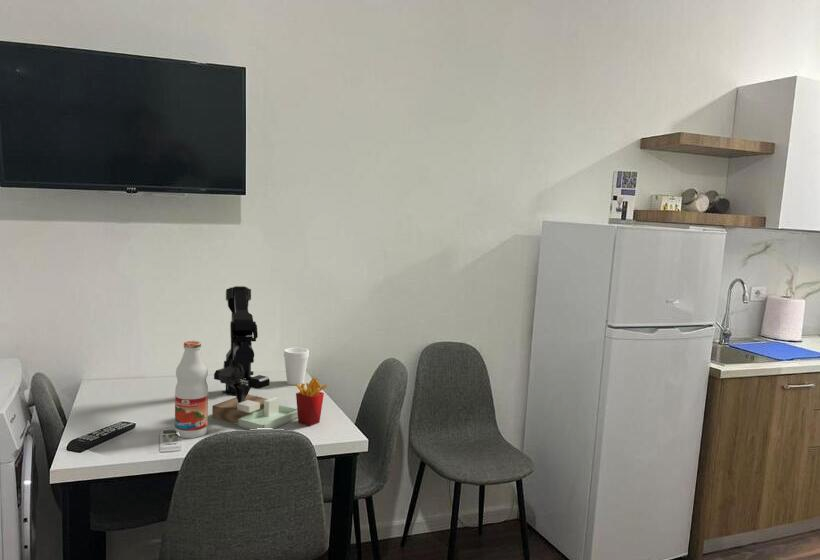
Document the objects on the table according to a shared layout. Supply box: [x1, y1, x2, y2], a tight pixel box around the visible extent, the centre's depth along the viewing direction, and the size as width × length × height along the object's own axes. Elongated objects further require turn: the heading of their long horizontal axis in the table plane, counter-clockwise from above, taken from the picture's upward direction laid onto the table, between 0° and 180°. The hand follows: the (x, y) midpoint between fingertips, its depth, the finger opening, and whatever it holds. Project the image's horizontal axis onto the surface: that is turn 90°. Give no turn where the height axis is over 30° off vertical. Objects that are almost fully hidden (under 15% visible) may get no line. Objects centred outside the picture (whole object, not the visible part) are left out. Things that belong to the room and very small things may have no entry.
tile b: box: [237, 400, 260, 413], centre depth 212 cm, size 5×5×2 cm
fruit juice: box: [174, 340, 209, 439], centre depth 198 cm, size 9×9×28 cm
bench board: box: [211, 393, 268, 425], centre depth 219 cm, size 12×16×4 cm
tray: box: [237, 403, 298, 430], centre depth 214 cm, size 11×19×2 cm, turn 153°
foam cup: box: [283, 347, 310, 386], centre depth 258 cm, size 10×9×13 cm
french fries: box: [295, 377, 328, 427], centre depth 214 cm, size 9×8×15 cm
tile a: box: [264, 396, 280, 417], centre depth 219 cm, size 5×5×2 cm
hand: (240, 403), depth 214 cm, fingers closed
